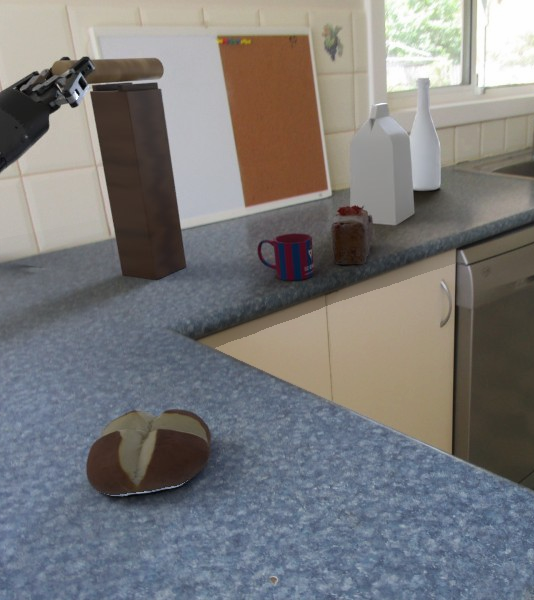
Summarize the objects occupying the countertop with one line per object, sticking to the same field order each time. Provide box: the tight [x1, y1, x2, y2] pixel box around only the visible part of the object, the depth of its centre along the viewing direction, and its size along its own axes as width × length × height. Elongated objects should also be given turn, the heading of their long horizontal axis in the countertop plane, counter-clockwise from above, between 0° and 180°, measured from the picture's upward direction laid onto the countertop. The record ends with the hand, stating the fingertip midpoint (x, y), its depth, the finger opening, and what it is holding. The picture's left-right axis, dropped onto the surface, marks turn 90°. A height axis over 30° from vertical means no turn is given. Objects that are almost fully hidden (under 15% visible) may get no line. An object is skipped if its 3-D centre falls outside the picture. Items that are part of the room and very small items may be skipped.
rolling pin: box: [51, 57, 165, 85], centre depth 108 cm, size 20×4×4 cm, turn 156°
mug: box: [257, 232, 315, 282], centre depth 118 cm, size 7×10×7 cm
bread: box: [85, 408, 212, 495], centre depth 64 cm, size 11×11×5 cm
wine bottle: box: [409, 77, 442, 192], centre depth 185 cm, size 10×10×30 cm
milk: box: [349, 102, 415, 226], centre depth 153 cm, size 12×12×26 cm
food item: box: [330, 205, 374, 266], centre depth 128 cm, size 14×8×10 cm, turn 1°
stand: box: [89, 81, 187, 281], centre depth 117 cm, size 8×8×33 cm
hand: (79, 62), depth 102 cm, fingers closed on rolling pin, 3 cm apart
